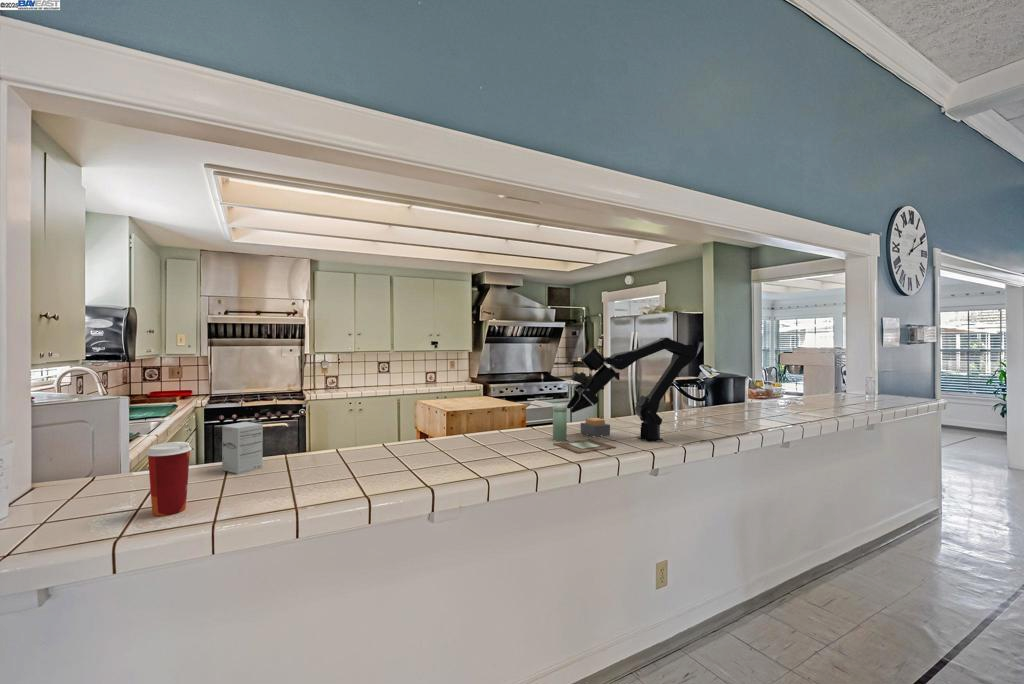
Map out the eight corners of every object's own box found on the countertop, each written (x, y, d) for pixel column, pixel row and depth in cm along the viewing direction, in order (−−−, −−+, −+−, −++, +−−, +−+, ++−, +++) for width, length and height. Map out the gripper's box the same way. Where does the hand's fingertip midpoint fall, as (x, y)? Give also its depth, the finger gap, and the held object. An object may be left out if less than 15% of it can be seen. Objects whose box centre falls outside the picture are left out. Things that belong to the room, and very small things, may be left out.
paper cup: (200, 504, 98) (200, 441, 98) (171, 518, 91) (171, 450, 91) (166, 503, 99) (166, 440, 99) (135, 517, 91) (135, 449, 91)
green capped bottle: (561, 437, 167) (561, 403, 167) (569, 440, 163) (569, 404, 163) (549, 439, 165) (550, 403, 165) (557, 442, 160) (557, 405, 160)
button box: (596, 431, 179) (596, 421, 179) (609, 435, 172) (610, 424, 172) (580, 433, 176) (580, 422, 176) (593, 437, 169) (593, 426, 169)
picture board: (590, 439, 164) (590, 438, 164) (615, 448, 152) (615, 446, 152) (553, 444, 156) (553, 443, 156) (577, 453, 144) (577, 452, 144)
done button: (596, 423, 178) (596, 417, 177) (604, 425, 173) (604, 419, 173) (585, 424, 175) (585, 418, 175) (594, 427, 170) (594, 420, 170)
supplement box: (221, 470, 124) (221, 425, 123) (247, 464, 130) (247, 420, 130) (237, 474, 120) (237, 427, 120) (263, 467, 127) (263, 423, 127)
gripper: (579, 362, 173) (551, 391, 173) (589, 365, 154) (557, 397, 154) (599, 383, 173) (571, 411, 173) (611, 388, 155) (579, 420, 154)
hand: (569, 409), depth 164 cm, fingers open, 9 cm apart
